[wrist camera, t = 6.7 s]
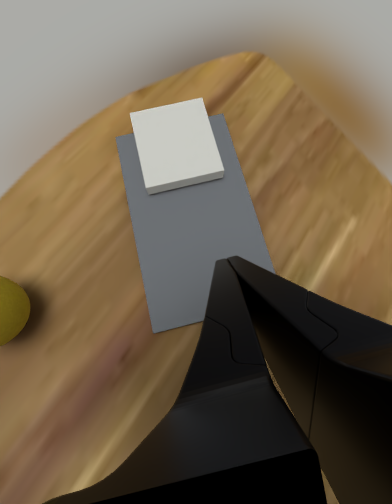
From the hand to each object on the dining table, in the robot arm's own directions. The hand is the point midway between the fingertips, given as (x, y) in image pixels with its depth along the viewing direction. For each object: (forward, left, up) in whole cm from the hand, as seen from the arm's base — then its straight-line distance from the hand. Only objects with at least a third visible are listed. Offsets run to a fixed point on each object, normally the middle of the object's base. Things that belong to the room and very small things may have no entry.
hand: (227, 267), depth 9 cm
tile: (+9, -4, -10) cm, 14 cm away
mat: (+7, -3, -12) cm, 14 cm away
